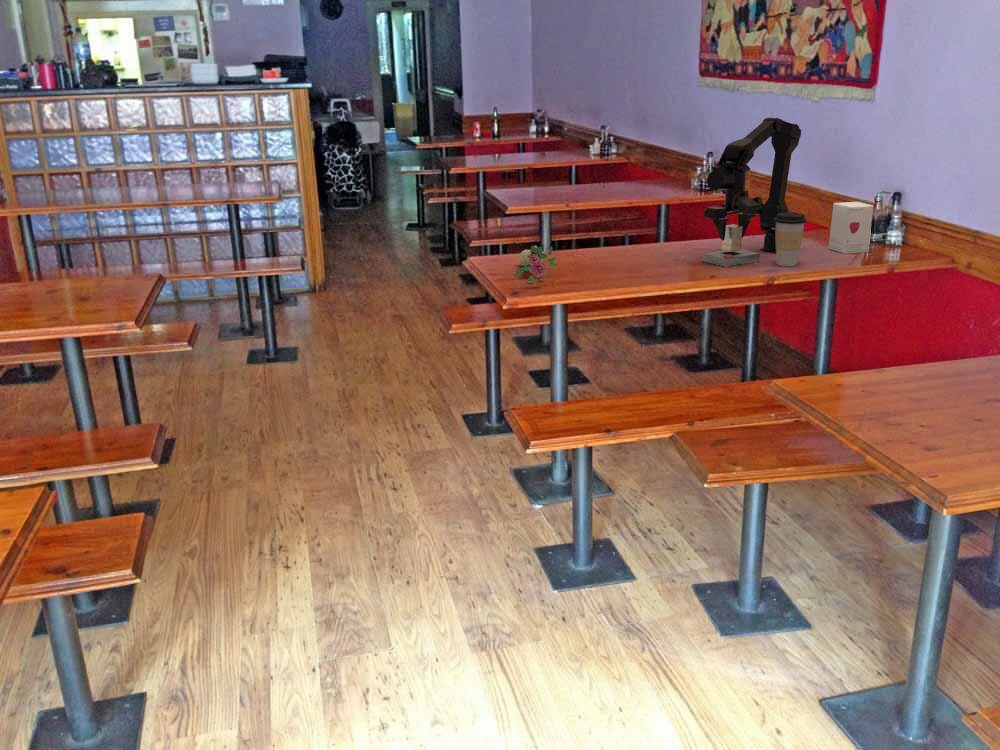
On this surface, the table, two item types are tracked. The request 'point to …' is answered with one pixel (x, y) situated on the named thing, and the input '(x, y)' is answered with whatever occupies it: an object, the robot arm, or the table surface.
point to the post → (732, 238)
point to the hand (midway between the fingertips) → (732, 238)
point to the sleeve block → (730, 257)
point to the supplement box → (850, 227)
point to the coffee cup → (788, 237)
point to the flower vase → (535, 262)
